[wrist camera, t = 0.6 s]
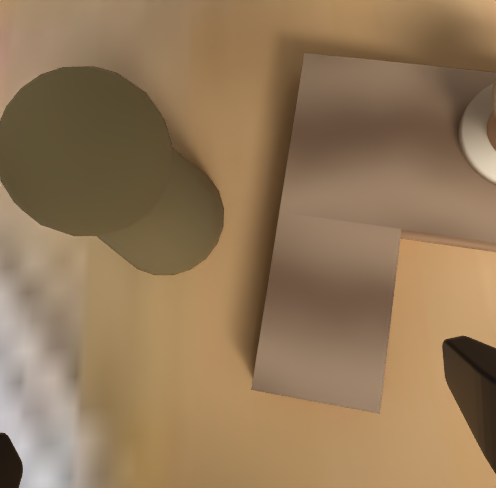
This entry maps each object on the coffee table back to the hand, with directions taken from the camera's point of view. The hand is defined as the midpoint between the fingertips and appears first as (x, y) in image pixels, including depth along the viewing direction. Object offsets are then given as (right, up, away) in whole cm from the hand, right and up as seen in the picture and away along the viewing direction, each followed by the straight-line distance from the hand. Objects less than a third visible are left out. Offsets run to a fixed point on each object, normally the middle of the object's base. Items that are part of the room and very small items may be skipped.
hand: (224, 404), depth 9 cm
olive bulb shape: (-4, +5, +14) cm, 15 cm away
